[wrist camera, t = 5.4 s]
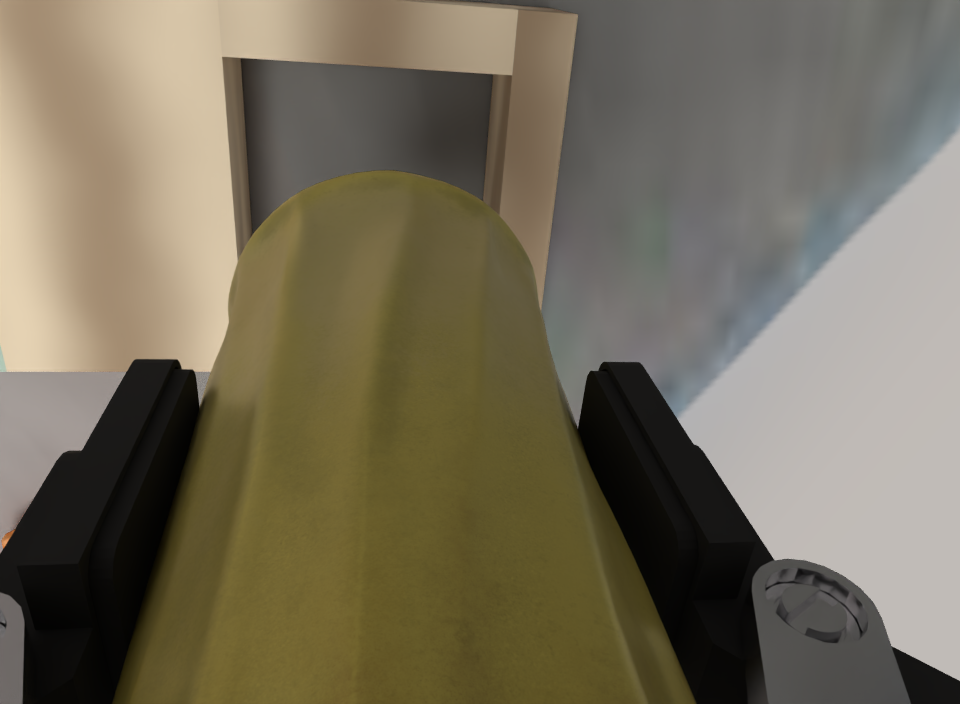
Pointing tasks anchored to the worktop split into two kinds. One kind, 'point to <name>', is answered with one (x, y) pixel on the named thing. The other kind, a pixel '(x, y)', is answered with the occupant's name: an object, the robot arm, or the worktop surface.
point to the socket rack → (212, 153)
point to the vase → (391, 482)
